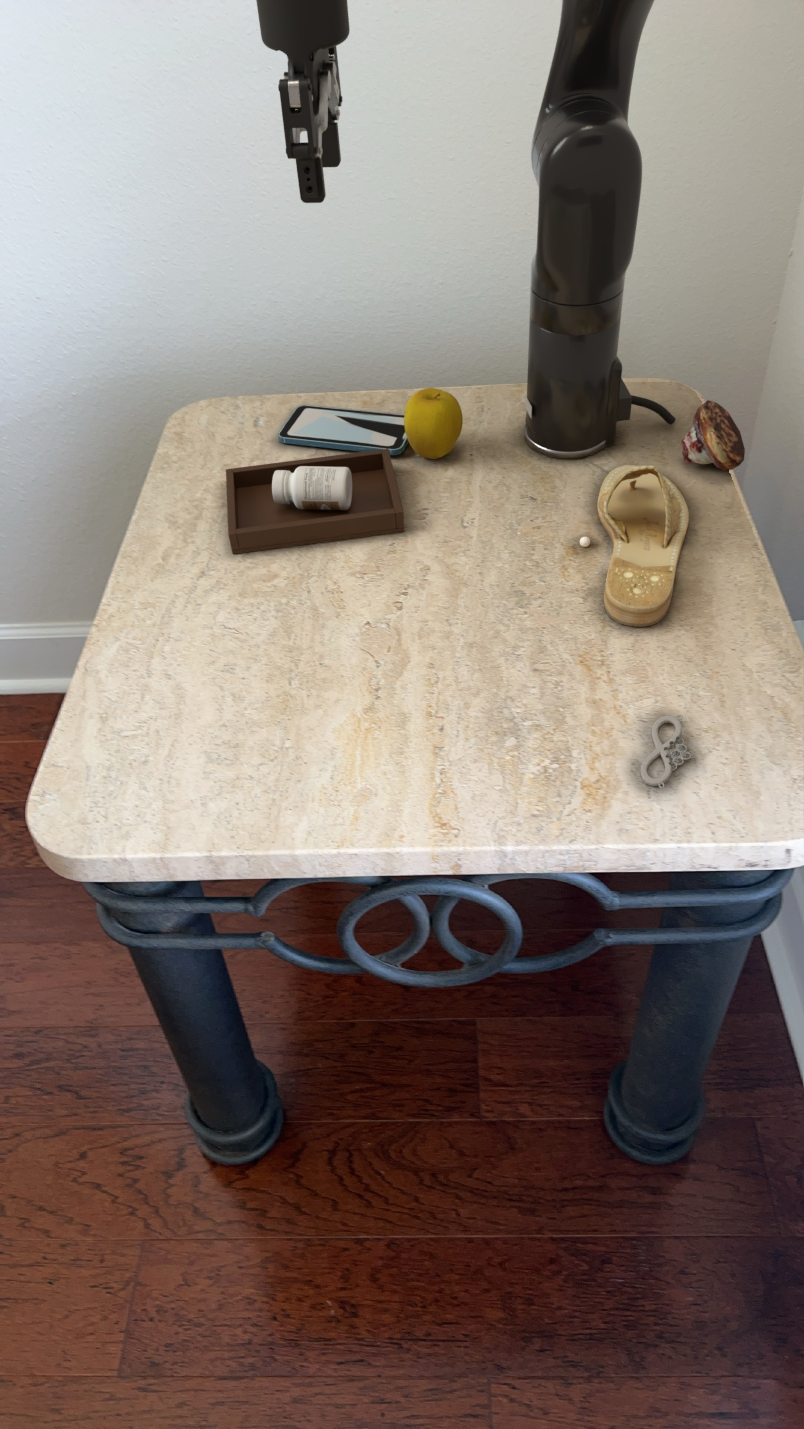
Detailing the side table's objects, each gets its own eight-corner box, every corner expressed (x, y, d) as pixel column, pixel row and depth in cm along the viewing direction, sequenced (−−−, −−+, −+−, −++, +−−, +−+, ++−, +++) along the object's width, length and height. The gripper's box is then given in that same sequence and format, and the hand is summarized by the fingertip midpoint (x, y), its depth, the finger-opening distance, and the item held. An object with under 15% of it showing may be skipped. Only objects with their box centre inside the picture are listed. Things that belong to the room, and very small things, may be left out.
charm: (636, 787, 82) (681, 795, 81) (636, 783, 82) (681, 790, 81) (656, 715, 87) (699, 721, 86) (656, 710, 87) (700, 716, 86)
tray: (389, 467, 114) (388, 448, 112) (404, 531, 106) (403, 511, 104) (229, 488, 113) (225, 468, 111) (232, 554, 105) (228, 534, 103)
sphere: (602, 594, 98) (599, 603, 99) (590, 533, 102) (587, 541, 103) (592, 594, 98) (589, 602, 99) (580, 532, 102) (578, 541, 103)
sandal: (524, 594, 98) (527, 524, 92) (617, 465, 112) (625, 397, 106) (653, 635, 94) (665, 565, 88) (735, 496, 107) (750, 426, 101)
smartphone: (298, 403, 123) (419, 415, 119) (299, 410, 123) (420, 423, 119) (274, 437, 118) (400, 451, 114) (276, 444, 119) (400, 458, 115)
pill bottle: (353, 509, 110) (281, 507, 111) (353, 466, 109) (280, 464, 110) (345, 512, 106) (270, 510, 107) (345, 467, 104) (270, 465, 105)
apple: (453, 473, 113) (452, 407, 107) (397, 465, 114) (393, 399, 108) (470, 441, 117) (469, 375, 111) (415, 434, 118) (412, 369, 112)
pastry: (707, 432, 104) (666, 460, 107) (752, 476, 107) (711, 501, 111) (704, 384, 109) (665, 412, 112) (747, 428, 112) (708, 454, 115)
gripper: (329, -4, 80) (349, 214, 92) (357, -49, 89) (372, 153, 101) (234, 0, 81) (266, 215, 93) (272, -45, 90) (297, 155, 102)
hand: (321, 182), depth 97 cm, fingers open, 8 cm apart
